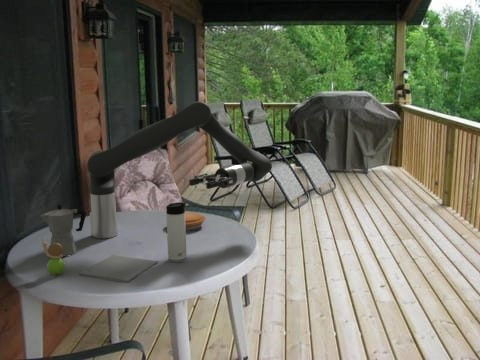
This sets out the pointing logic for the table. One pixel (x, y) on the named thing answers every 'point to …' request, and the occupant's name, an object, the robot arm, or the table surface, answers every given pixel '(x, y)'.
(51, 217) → the coffeepot
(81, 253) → the table surface
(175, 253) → the travel mug
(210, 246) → the table surface
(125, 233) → the table surface
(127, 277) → the mat
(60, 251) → the snail figurine
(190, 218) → the pie
